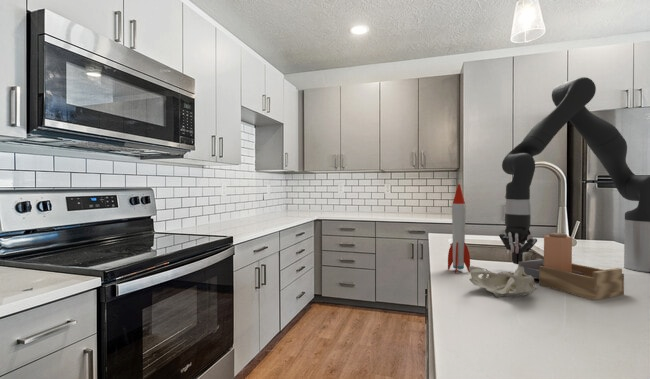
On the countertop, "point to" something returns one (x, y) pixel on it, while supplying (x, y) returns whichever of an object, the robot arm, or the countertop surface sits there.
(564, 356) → the countertop surface
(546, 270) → the dock
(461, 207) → the toy rocket
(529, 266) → the tray
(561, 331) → the countertop surface
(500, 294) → the anatomical model
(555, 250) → the tin
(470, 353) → the countertop surface
